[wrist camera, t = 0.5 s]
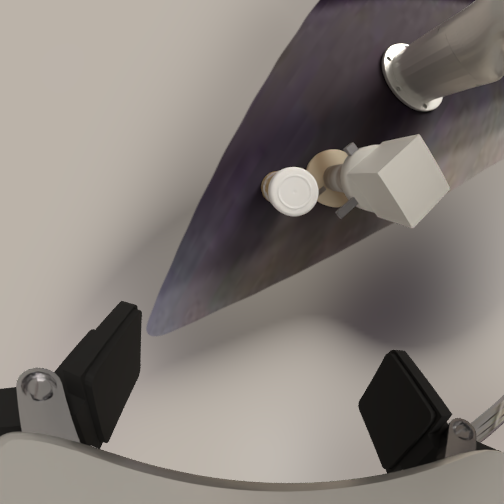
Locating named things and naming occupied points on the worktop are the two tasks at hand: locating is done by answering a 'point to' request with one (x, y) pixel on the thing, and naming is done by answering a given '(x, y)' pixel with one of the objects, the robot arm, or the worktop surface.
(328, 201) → the post base
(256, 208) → the worktop surface
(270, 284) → the worktop surface
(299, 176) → the sprinkles bottle
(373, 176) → the coupling cap
